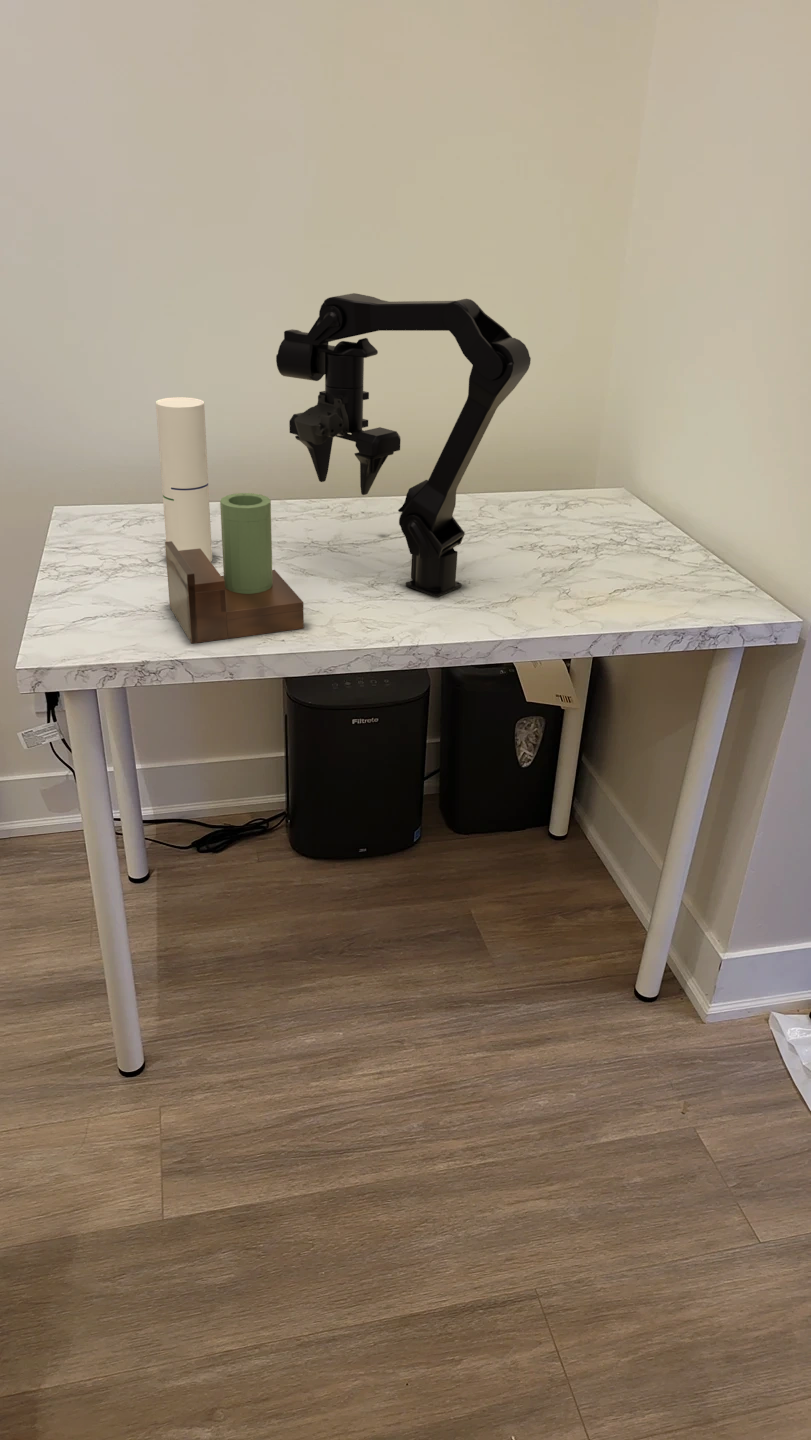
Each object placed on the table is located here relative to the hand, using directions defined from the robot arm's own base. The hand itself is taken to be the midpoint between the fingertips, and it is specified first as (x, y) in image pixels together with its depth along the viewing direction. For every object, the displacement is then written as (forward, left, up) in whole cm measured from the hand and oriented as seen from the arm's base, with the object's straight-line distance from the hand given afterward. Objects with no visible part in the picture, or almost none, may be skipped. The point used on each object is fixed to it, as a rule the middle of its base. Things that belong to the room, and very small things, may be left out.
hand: (343, 487), depth 162 cm
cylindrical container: (+19, +16, -13) cm, 28 cm away
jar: (-4, +23, -9) cm, 25 cm away
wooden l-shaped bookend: (-4, +26, -13) cm, 29 cm away
